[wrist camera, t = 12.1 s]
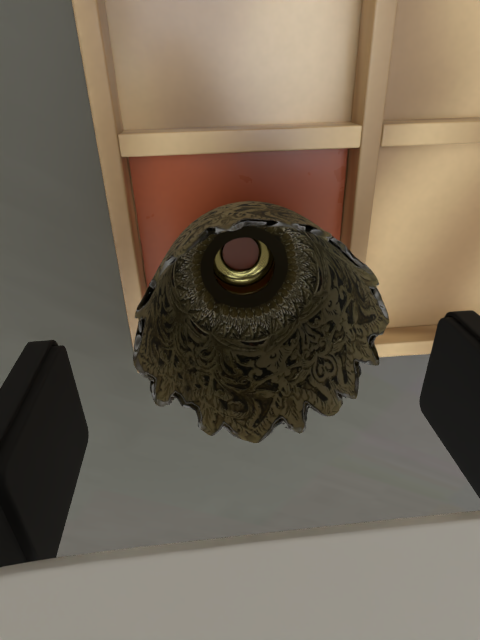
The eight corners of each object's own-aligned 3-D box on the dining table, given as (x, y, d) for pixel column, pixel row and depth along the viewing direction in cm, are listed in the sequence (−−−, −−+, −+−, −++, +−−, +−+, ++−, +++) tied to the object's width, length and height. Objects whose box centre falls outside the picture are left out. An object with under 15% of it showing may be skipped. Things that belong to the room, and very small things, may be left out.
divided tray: (142, 350, 22) (137, 374, 21) (45, -240, 12) (18, -294, 11) (518, 325, 24) (544, 346, 22) (705, -233, 14) (782, -280, 12)
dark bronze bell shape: (354, 249, 20) (438, 342, 13) (242, 350, 22) (261, 475, 15) (239, 125, 17) (266, 158, 10) (122, 256, 19) (78, 358, 12)
